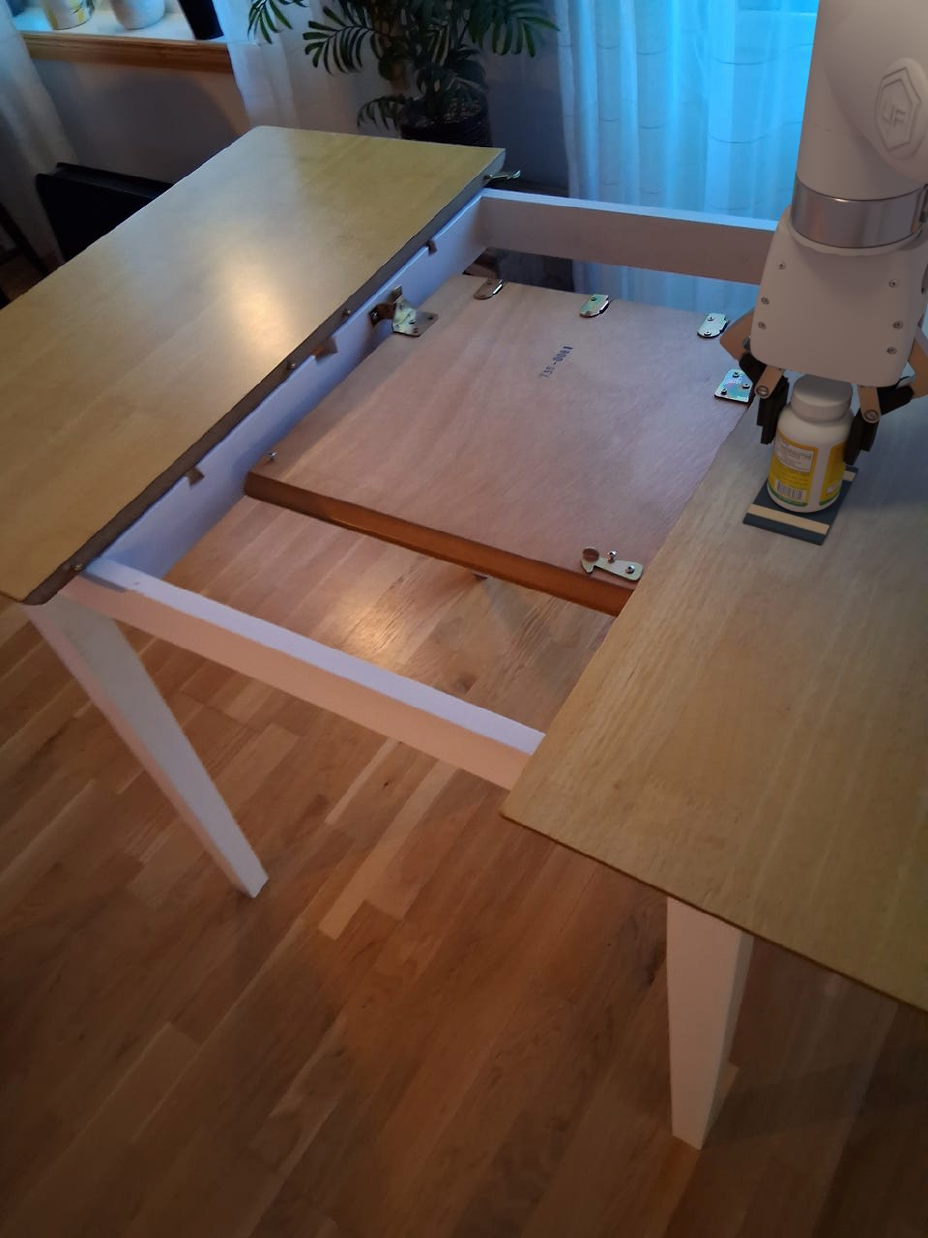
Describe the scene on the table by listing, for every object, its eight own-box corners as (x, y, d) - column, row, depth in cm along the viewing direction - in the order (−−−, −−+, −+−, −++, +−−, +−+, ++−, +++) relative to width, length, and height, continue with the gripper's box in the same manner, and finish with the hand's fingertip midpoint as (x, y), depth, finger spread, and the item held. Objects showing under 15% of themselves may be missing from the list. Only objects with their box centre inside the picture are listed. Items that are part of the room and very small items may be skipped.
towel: (857, 471, 73) (859, 466, 73) (820, 545, 69) (821, 540, 68) (783, 452, 76) (783, 448, 75) (742, 523, 71) (743, 518, 71)
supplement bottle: (774, 517, 70) (790, 415, 63) (760, 471, 74) (774, 369, 66) (847, 511, 69) (872, 407, 62) (830, 465, 73) (852, 361, 66)
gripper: (1032, 190, 53) (949, 441, 66) (740, 157, 60) (719, 389, 74) (1002, 255, 49) (920, 507, 62) (695, 211, 56) (682, 445, 70)
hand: (812, 441), depth 68 cm, fingers closed on supplement bottle, 5 cm apart
